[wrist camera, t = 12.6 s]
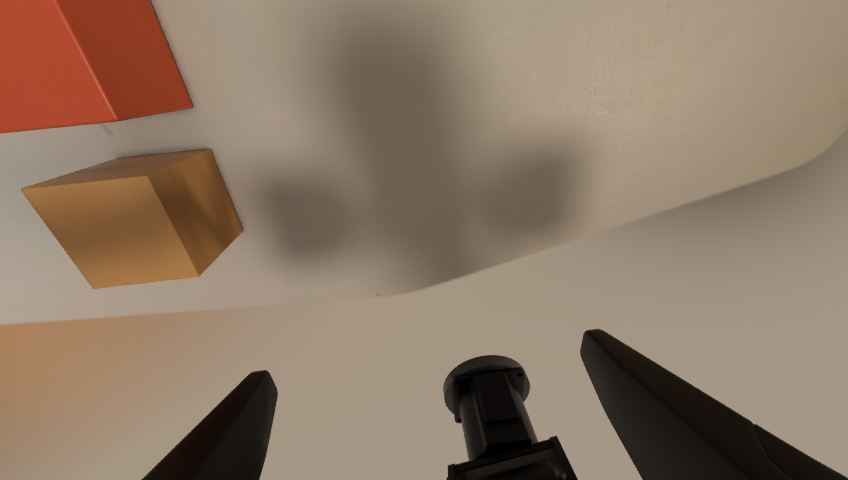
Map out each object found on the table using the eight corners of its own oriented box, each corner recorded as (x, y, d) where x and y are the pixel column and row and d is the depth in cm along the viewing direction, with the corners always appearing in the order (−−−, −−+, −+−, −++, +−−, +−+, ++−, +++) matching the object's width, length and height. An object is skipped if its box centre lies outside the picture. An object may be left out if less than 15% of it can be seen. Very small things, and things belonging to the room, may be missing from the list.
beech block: (243, 230, 20) (199, 276, 15) (161, 239, 19) (92, 289, 15) (210, 148, 17) (146, 175, 13) (116, 158, 17) (19, 188, 13)
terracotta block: (194, 107, 16) (118, 121, 12) (94, 117, 16) (-20, 135, 12) (144, -16, 14) (25, -57, 9) (26, -5, 14) (-150, -41, 9)
